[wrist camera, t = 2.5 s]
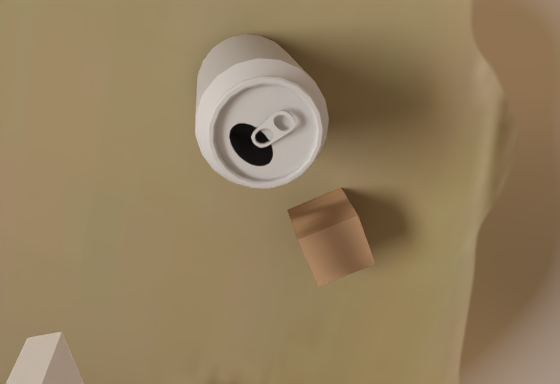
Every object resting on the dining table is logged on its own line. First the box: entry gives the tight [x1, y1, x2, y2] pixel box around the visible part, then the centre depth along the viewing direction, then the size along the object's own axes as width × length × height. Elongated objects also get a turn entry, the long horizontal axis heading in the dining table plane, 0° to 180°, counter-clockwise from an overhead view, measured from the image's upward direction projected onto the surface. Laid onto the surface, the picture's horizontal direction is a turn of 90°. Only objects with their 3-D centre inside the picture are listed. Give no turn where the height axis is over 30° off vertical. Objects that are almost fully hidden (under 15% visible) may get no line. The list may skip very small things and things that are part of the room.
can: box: [195, 34, 329, 188], centre depth 30 cm, size 8×8×12 cm
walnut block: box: [288, 188, 375, 286], centre depth 39 cm, size 5×5×5 cm
